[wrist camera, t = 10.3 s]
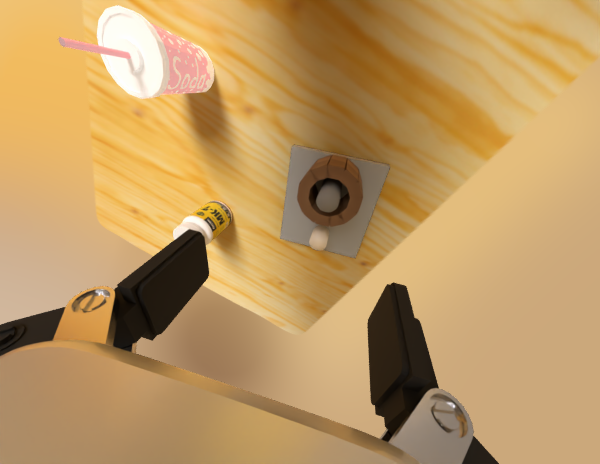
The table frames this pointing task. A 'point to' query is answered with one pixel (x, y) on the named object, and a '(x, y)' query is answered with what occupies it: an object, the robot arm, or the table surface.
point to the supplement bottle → (206, 221)
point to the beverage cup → (147, 56)
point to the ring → (333, 169)
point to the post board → (337, 233)
